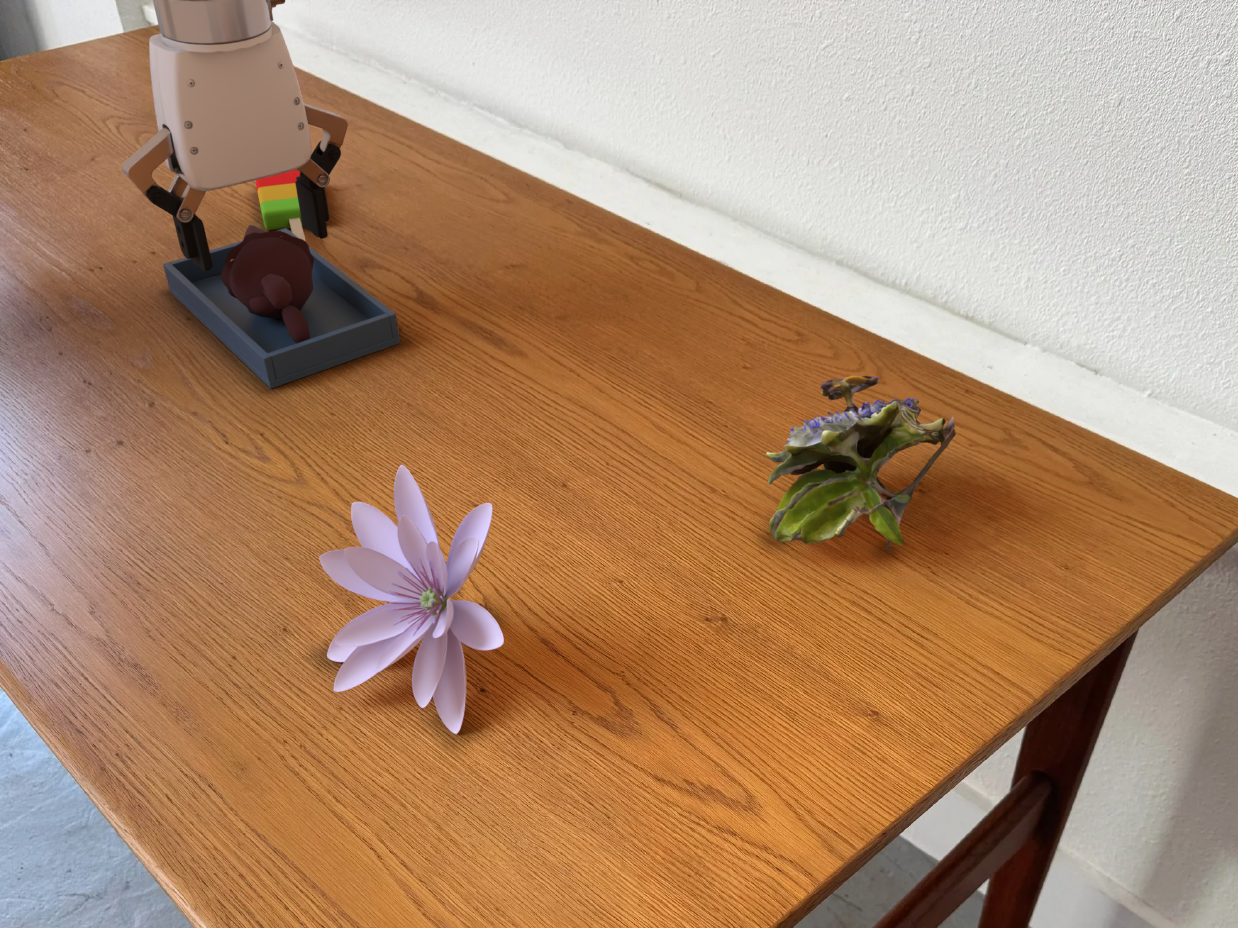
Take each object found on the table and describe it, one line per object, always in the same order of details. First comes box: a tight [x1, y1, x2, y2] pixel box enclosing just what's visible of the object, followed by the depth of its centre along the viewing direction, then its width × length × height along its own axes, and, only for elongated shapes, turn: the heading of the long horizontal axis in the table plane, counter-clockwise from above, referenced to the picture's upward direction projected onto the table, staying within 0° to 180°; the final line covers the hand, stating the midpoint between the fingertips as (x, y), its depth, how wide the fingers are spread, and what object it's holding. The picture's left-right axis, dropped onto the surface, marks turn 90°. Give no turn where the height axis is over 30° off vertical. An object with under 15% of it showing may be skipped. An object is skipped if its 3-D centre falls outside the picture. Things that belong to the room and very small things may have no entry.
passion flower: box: [765, 375, 957, 552], centre depth 79 cm, size 11×11×12 cm
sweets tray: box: [162, 228, 401, 389], centre depth 100 cm, size 11×19×3 cm, turn 38°
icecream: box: [221, 224, 314, 344], centre depth 98 cm, size 7×7×15 cm
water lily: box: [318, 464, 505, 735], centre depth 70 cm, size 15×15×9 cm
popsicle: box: [255, 169, 307, 242], centre depth 113 cm, size 6×15×2 cm, turn 17°
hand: (259, 247), depth 97 cm, fingers open, 9 cm apart
